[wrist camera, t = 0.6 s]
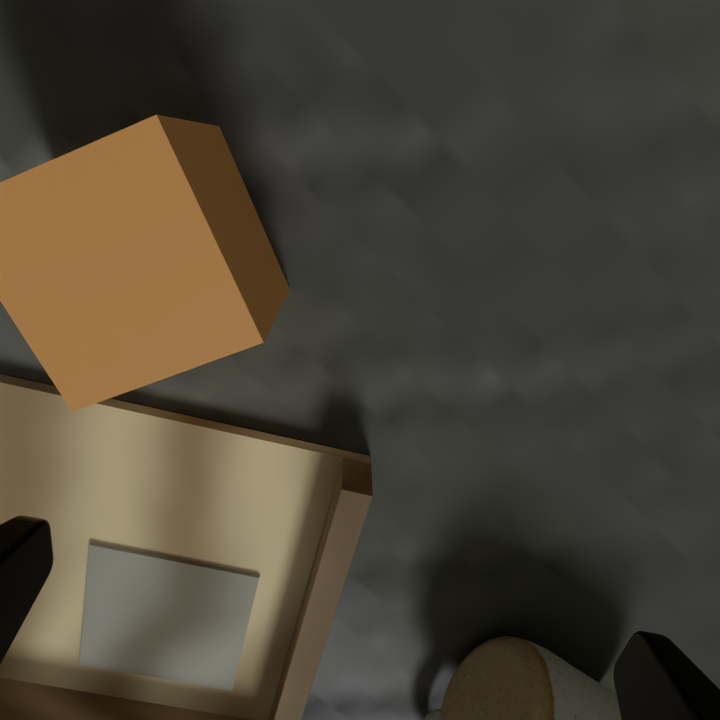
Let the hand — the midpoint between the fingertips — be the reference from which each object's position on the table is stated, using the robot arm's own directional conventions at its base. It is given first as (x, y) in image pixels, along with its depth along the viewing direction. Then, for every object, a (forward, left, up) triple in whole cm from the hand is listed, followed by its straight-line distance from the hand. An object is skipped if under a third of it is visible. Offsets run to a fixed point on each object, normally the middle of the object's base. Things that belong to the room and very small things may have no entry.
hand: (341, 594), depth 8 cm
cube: (-7, +2, -13) cm, 15 cm away
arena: (-6, -14, -13) cm, 20 cm away
